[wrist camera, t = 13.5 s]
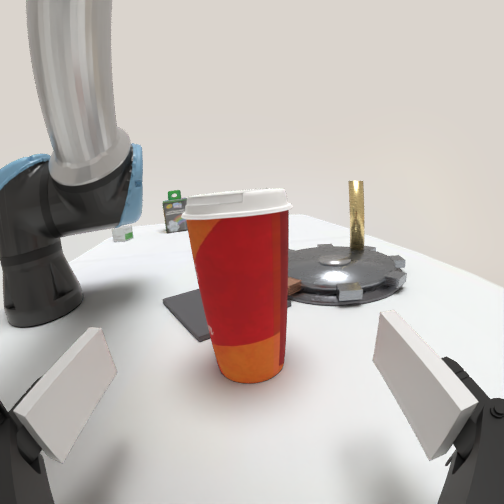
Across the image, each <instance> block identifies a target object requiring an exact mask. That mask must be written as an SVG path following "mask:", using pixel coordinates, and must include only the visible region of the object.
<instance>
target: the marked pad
mask: <svg viewBox="0 0 504 504" xmlns="http://www.w3.org/2000/svg"><path fill="white" fill-rule="evenodd" d="M163 303H164V304H165V306H166V307H167V308H168V309H169V310H170V311H171V312H172V313H173V314H174V316H175V317H176V318H177V319H178V320H179V321H180V322H181V323H182V324H183V325H184V326H185V327H186V328H187V329H188V330H189V331H190V333H191V334H192V335H193V336H194V337H195V338H196V339H197V340H198V341H199V342H201V341H203V340H206V339H209V338H211V337H210V333H209V329H208V325H207V320H206V316H205V312H204V307H203V303H202V298H201V294H200V289H197V290H193V291H190V292H186V293H183V294H179V295H176V296H172V297H168V298H165V299H163ZM289 306H291V301H289V300H287V307H289Z"/></svg>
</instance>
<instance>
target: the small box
mask: <svg viewBox="0 0 504 504" xmlns="http://www.w3.org/2000/svg"><path fill="white" fill-rule="evenodd" d="M112 234H113V241H114V242H125V241H127V240H130V239H132V238H133V232H132V226H120V227H119V228H114V229H112Z"/></svg>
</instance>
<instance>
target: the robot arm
mask: <svg viewBox="0 0 504 504" xmlns="http://www.w3.org/2000/svg"><path fill="white" fill-rule="evenodd" d="M26 9H27V28H28V39H29V48H30V55H31V62H32V68H33V73H34V79H35V84H36V89H37V93H38V97H39V102H40V106H41V109H42V113H43V117H44V121H45V124H46V128H47V131H48V134H49V138H50V141H51V144H52V147H53V150H54V151H53V153H52V155H51V156H50V155H47V154H35V155H32V156H30V157H23V158H20V159H18V160H16V161H13V162H11V163H9V164H8V165H6V166H4V167H3V168H1V169H0V261H1V266H2V270H3V295H4V296H3V297H4V309H5V313H6V315H7V318H8V321H9V323H10V324H12V325H14V326H18V327H28V326H34V325H39V324H43V323H46V322H49V321H52V320H54V319H57V318H59V317H61V316H63V315H65V314H67V313H68V312H70V311H72V310H73V309H74V308H76V307H77V306H78V305H79V304H80V303H81V301H82V299H83V294H82V290H81V286H80V284H79V281H78V280H77V278H76V276H75V275H74V273H73V271H72V269H71V267H70V266H69V264H68V262H67V260H66V258H65V257H64V254H63V251H62V246H61V241H60V237H65V236H69V235H75V234H81V233H86V232H92V231H98V230H104V229H110V228H119V227H120V226H122V225H127V224H131V223H134V222H136V221H138V219H139V218H140V216H141V213H142V195H143V194H142V174H143V169H142V168H143V160H142V147H141V146H140V145H138V144H133V143H132V144H131V143H130V138H129V136H128V134H127V133H126V132H125V131H124V130H123V129H121V128H119V127H117V125H116V115H115V106H114V95H113V83H112V65H111V64H112V63H111V10H112V0H26ZM373 362H374V364H375V365H376V367H377V369H378V370H379V372H380V374H381V375H382V377H383V379H384V380H385V382H386V384H387V385H388V387H389V389H390V390H391V392H392V394H393V396H394V397H395V399H396V401H397V403H398V404H399V406H400V408H401V410H402V411H403V413H404V415H405V417H406V418H407V420H408V422H409V424H410V426H411V427H412V429H413V431H414V433H415V435H416V437H417V439H418V440H419V442H420V444H421V446H422V448H423V450H424V452H425V454H426V456H427V457H428V459H429V461H431V460H433V459H435V458H437V457H439V456H442V455H444V454H446V453H447V451H448V450H449V449H450V447H451V446H452V444H454V446H455V448H456V450H455V452H454V453H453V454H452V456H451V457H450V458H449V459H448V461H447V462H446V464H445V466H448V464H449V463H450V462H451V465H450V468H449V471H448V475H447V478H446V481H445V484H444V487H443V490H442V492H441V495H440V498H439V500H438V503H437V504H504V399H501V398H493V399H490V398H489V397H488V396H487V395H486V394H485V393H484V391H483V390H482V389H481V388H480V387H479V386H478V385H477V384H476V383H475V381H474V380H473V379H472V378H471V377H469V375H468V374H467V373H466V372H465V371H464V369H463V368H462V367H461V366H460V365H459V364H458V363H457V362H455V361H454V360H452V359H450V358H448V357H444V358H440V357H439V356H438V355H437V354H436V353H435V351H434V350H433V349H432V348H431V347H430V346H429V345H428V344H427V343H426V342H425V341H424V340H423V339H422V338H421V337H420V336H419V335H418V333H417V332H416V331H415V330H414V329H413V328H412V327H411V326H410V325H409V324H408V323H407V322H406V321H405V320H404V319H403V318H402V317H401V316H400V315H399V314H398V313H397V312H396V311H395V310H390V311H384V312H380V317H379V324H378V331H377V338H376V344H375V350H374V355H373ZM116 374H117V370H116V367H115V365H114V362H113V360H112V357H111V354H110V352H109V349H108V346H107V343H106V340H105V338H104V335H103V332H102V329H101V328H94V327H89V328H88V329H87V330H86V331H85V332H84V333H83V334H82V335H81V336H80V337H79V338H78V339H77V340H76V341H75V343H74V344H73V345H72V346H71V347H70V348H69V349H68V350H67V351H66V352H65V353H64V354H63V355H62V356H61V357H60V358H59V359H58V360H57V361H56V362H55V364H54V365H53V366H52V367H51V368H50V369H49V370H48V371H47V372H46V373H45V374H44V375H43V376H42V377H40V378H39V379H37V380H36V381H35V382H34V383H33V385H32V386H31V388H29V389H28V390H27V391H26V393H25V394H24V395H23V396H22V397H21V398H20V399H19V401H18V402H17V403H16V404H15V405H14V406H13V408H12V409H11V410H10V411H9V412H7V410H6V409H5V407H4V406H3V404H2V402H1V401H0V504H54V501H53V497H52V494H51V490H50V486H49V482H48V478H47V474H46V469H45V464H44V459H43V457H42V455H41V454H40V452H41V450H43V451H44V452H45V453H46V454H47V455H48V457H49V458H51V459H53V460H55V461H57V462H59V463H62V464H63V463H64V461H65V459H66V457H67V456H68V454H69V452H70V450H71V448H72V447H73V445H74V443H75V441H76V440H77V438H78V436H79V434H80V433H81V431H82V429H83V427H84V426H85V424H86V422H87V421H88V419H89V417H90V416H91V414H92V412H93V411H94V409H95V407H96V406H97V404H98V402H99V401H100V399H101V398H102V396H103V394H104V393H105V391H106V390H107V388H108V386H109V385H110V383H111V382H112V380H113V378H114V377H115V375H116Z"/></svg>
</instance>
